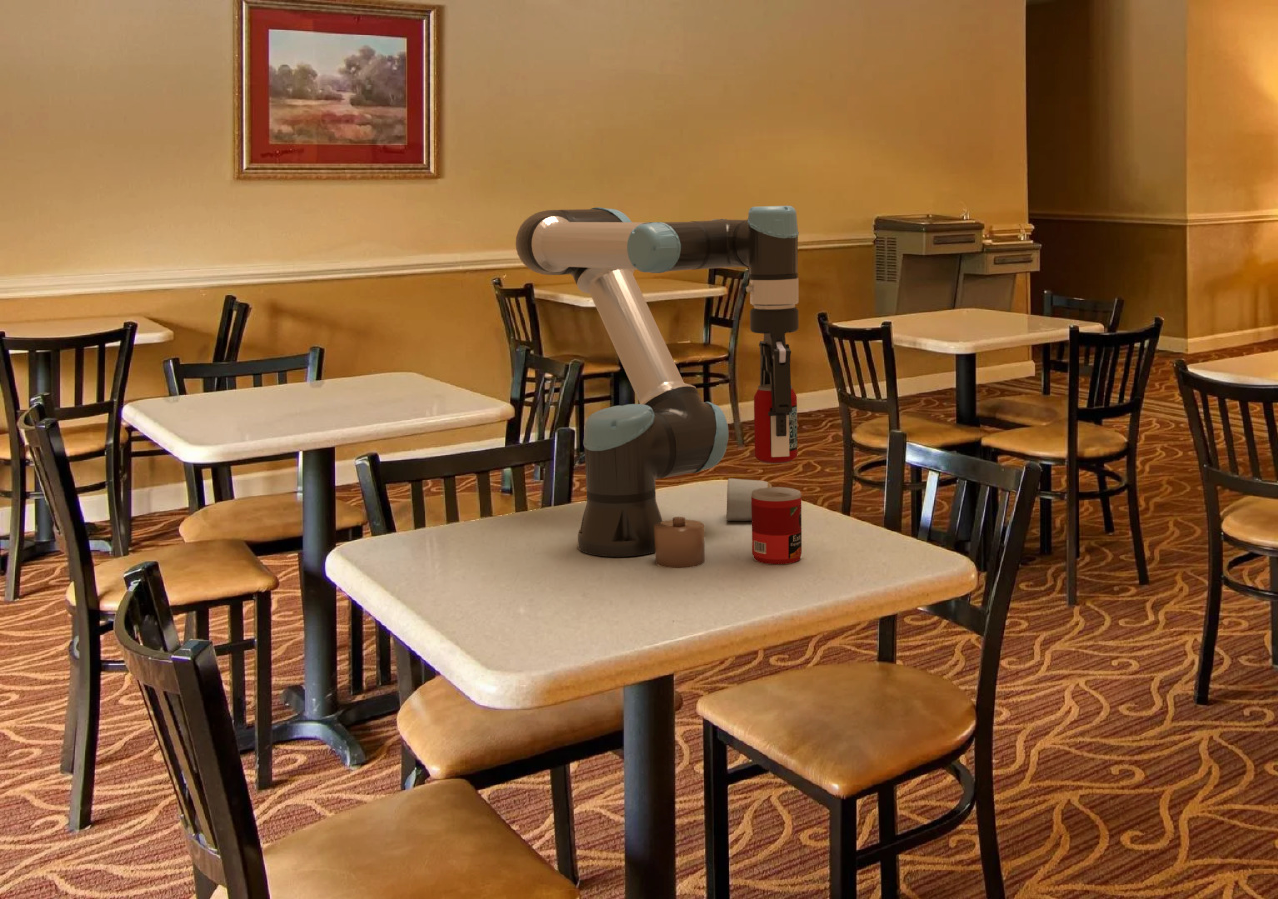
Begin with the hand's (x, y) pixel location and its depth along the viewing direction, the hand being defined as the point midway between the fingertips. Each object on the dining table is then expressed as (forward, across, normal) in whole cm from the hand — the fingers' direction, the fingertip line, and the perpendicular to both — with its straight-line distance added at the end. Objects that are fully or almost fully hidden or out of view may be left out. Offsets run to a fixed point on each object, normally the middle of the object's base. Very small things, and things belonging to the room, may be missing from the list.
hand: (775, 451), depth 209 cm
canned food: (+18, 0, 0) cm, 18 cm away
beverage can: (+2, 0, 0) cm, 2 cm away
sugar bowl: (+18, -2, -16) cm, 24 cm away
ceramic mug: (+18, -28, 0) cm, 33 cm away
